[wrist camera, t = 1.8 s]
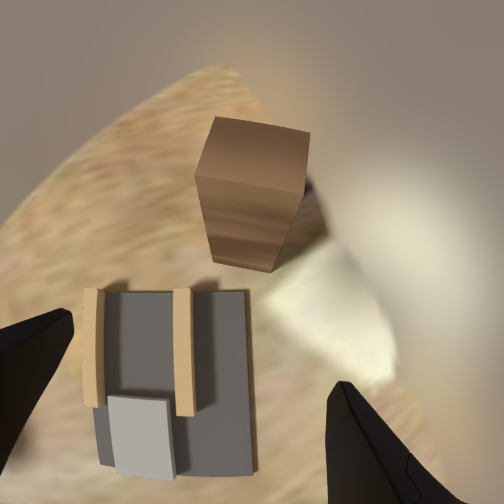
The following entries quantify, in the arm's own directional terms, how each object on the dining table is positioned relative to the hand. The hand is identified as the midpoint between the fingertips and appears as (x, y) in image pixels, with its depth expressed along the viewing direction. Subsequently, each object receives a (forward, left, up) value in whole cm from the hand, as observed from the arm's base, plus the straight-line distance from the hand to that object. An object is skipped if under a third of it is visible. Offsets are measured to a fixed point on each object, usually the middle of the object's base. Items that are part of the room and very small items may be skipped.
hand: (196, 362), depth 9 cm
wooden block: (+7, -5, -13) cm, 16 cm away
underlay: (-1, +5, -13) cm, 14 cm away
